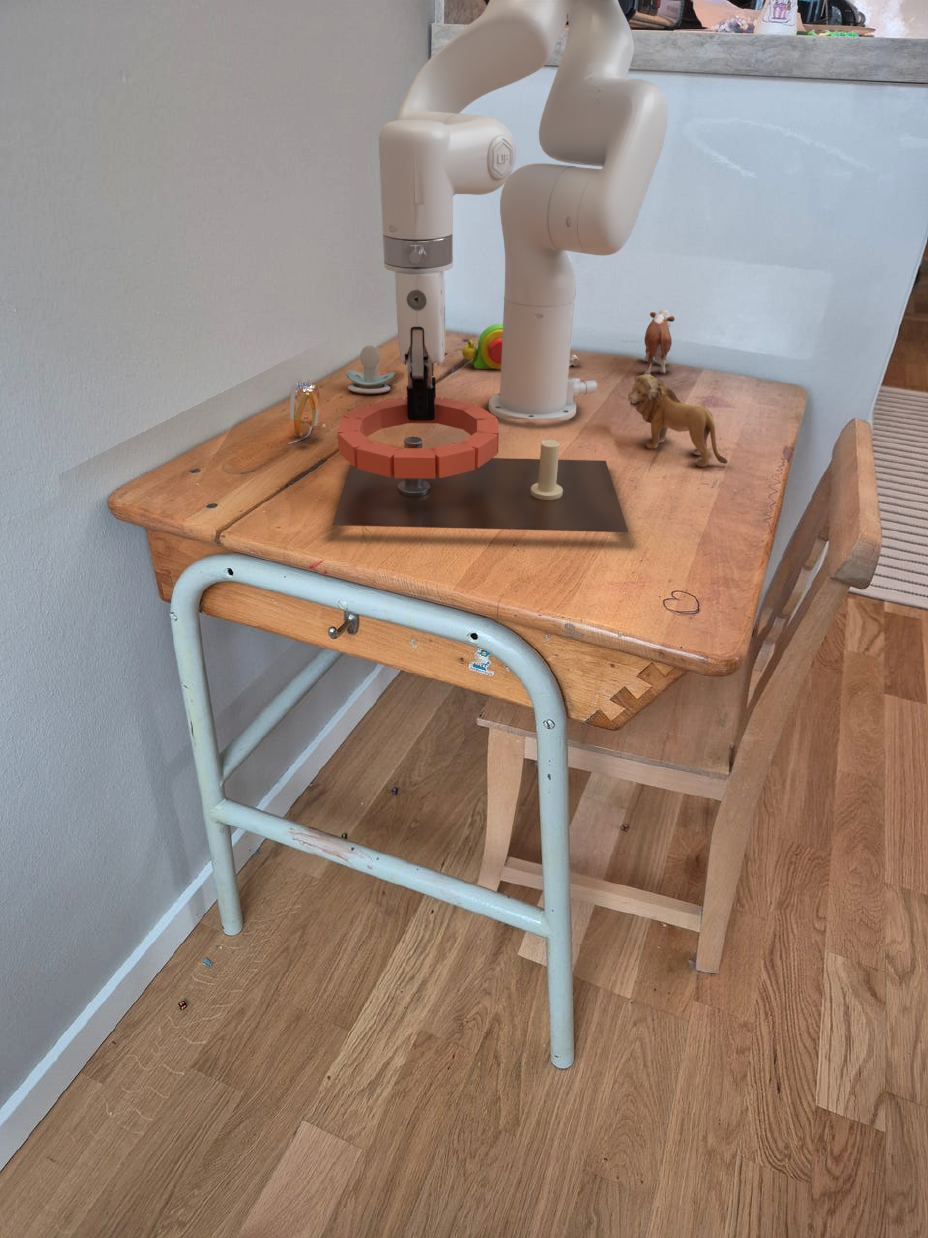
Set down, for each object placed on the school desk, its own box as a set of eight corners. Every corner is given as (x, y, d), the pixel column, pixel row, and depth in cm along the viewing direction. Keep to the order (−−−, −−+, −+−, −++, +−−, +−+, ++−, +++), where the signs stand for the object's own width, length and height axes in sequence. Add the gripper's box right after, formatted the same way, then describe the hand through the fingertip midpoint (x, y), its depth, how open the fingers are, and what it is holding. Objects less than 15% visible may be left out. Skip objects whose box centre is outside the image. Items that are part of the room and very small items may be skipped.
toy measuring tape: (459, 360, 144) (460, 320, 140) (573, 359, 146) (577, 319, 142) (464, 372, 138) (464, 331, 135) (582, 370, 140) (586, 330, 137)
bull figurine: (668, 356, 148) (676, 307, 144) (666, 380, 137) (674, 328, 133) (643, 354, 149) (649, 305, 144) (638, 377, 138) (645, 325, 133)
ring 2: (499, 479, 90) (500, 458, 89) (330, 478, 90) (328, 456, 89) (496, 416, 105) (496, 397, 103) (350, 415, 105) (349, 396, 104)
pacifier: (390, 397, 128) (396, 383, 133) (389, 356, 124) (395, 343, 129) (342, 395, 128) (350, 381, 133) (339, 353, 125) (347, 341, 130)
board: (604, 471, 106) (606, 460, 105) (627, 544, 90) (628, 531, 90) (354, 465, 106) (353, 454, 105) (332, 537, 90) (332, 524, 90)
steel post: (423, 481, 99) (422, 432, 96) (434, 494, 96) (434, 443, 93) (393, 486, 98) (392, 436, 95) (404, 499, 95) (403, 448, 92)
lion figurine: (615, 442, 114) (623, 376, 109) (636, 432, 118) (645, 366, 113) (717, 473, 106) (730, 402, 102) (736, 460, 110) (750, 391, 105)
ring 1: (306, 451, 110) (301, 390, 105) (284, 448, 110) (278, 387, 106) (331, 433, 115) (327, 374, 111) (310, 430, 116) (305, 371, 112)
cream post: (552, 484, 99) (557, 435, 96) (568, 497, 96) (572, 446, 93) (525, 489, 98) (528, 439, 95) (539, 502, 95) (543, 451, 92)
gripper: (450, 269, 86) (451, 441, 97) (454, 237, 100) (454, 391, 110) (376, 268, 87) (385, 440, 97) (389, 236, 100) (396, 391, 110)
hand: (422, 413), depth 103 cm, fingers closed on ring 2, 2 cm apart
